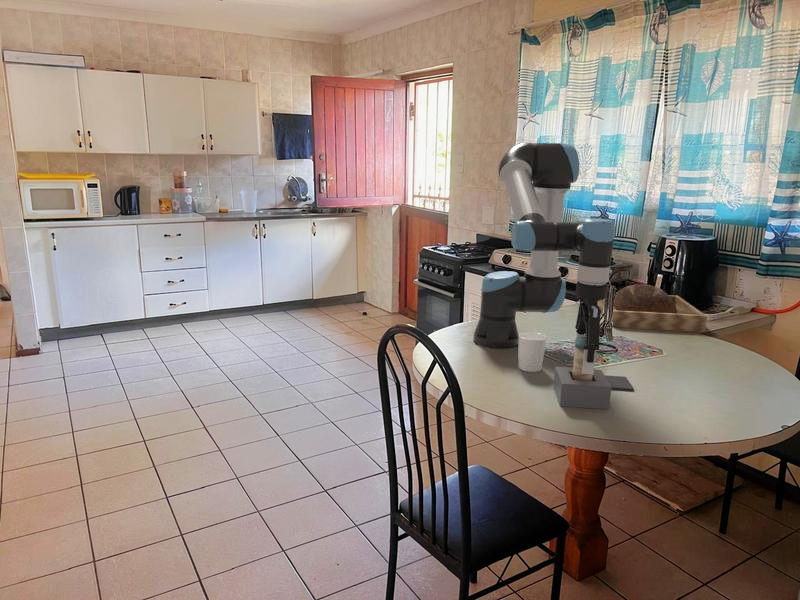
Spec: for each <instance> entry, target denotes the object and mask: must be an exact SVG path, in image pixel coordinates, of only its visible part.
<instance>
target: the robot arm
mask: <svg viewBox="0 0 800 600" xmlns="http://www.w3.org/2000/svg"><path fill="white" fill-rule="evenodd" d="M579 175H580V159H579V154H578V151H577V149H576V147H575V146H573V145H572V144H570V143H569V144H568V143H561V142H552V143H551V142H550V143H547V142H523V143H519V144H516V145H514V146H512V147H511V148H510V149H508V150H507V151H506V153H504V154H503V156H502V158H501V160H500V161H499V165H498V177H499V180H500V182H501V184H502V185H503V186H504V187H505V189H506V193H507V196H508V198H509V199H508V200H509V203H510V207H511V210H512V213H513V214H512V215H513V217H514V220H515V222H514V223H513V224H512V226H511V232H510V233H511V234H510V240H511V243H510V244H511V246H512V247H513V249H514V250H517V251H524V252H530V261H529V262H530V263H529V266H528V267H527V268H526V269H525V270H524V275H523V276H520V275H519V273H518V272H516V271H511V270H510V271H508V270H500V271H494V272H491V273H487V274H486V275H485V276H483V278H482V283H481V288H480V291H481V295H480V313H479V319H478V321H477V325H476V327H475V329H474V331H473V339H472V340H473V341H474V343H476V344H478V345H481V346H484V347H487V348H493V349H494V348H496V349H507V348H513V347H516V346H518V344H519V334H520V333H519V330H518V327H517V323H516V315H517V314H516V313H517V312H518V313H519V312H520V313H542V314H545V313H556V312H557V311H559V310H560V309H561V308H562V306H563V303H564V301H565V298H566V293H567V288H566V286H567V283H566V280H565V278H564V277H562V272H561V271H560V270H559V269H558V261H559V260H558V259H559V252H574V253H575V252H576V253H579V256H578V257H579V258H578V264H577V273H576V274H577V275H576V279H577V280H578V281H577V282H576V286H575V296H576V297H577V298H579V306H578V311H577V316H576V321H575V326H574V328H575V329H576V330H575V331H576V337H581V336H584V337H586V346H584V347H583V349H584V357H583V366H582V374H592V375H594V369H595V366H596V356H597V351H599V350H600V332H601V331H600V330H601V329H600V328H601V326H600V325H601V315H602V314H601V309H599V306H598V301H599V300H604V299H606V298H607V292H609V291H608V290H609V285H608V282H609V281H610V274H612V273H613V270H612V269H611V263H612V255H613V249H614V247H613V246H614V240H615V235H616V234H615V230H616V229H615V226H616V224H615V222H614V221H613V220H612V219H606V218H586V219H585V220H581V221H580V220H576V221H573V222H567V221H566V222H563V212H564V206H565V197H566V196H565V195H566V193H568V191H570V190H571V187H572V184H574V183H576V182H577V181H578V179H579ZM576 337H575V338H576ZM591 344H594V345H591Z"/></svg>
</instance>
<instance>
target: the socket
mask: <svg viewBox="0 0 800 600" xmlns="http://www.w3.org/2000/svg"><path fill="white" fill-rule="evenodd" d="M572 373H573V367H568V366H567V367H566V366H565V367H563V366H555V367H554V377H553V379H554V380H553V391H554V393H555V396H556V399H557V402H558V405H559V407H571V408H572V407H573V408H585V409H598V410H610V403H611V393H612V389H611V385H610V384H609V382H608V380H607V379H606V377H605V375H606V374H605V373H604V372H603V370H602V369H595V368H594V375H593V377H592V381H580V380H572Z"/></svg>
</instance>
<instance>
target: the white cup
mask: <svg viewBox="0 0 800 600" xmlns="http://www.w3.org/2000/svg"><path fill="white" fill-rule="evenodd" d="M518 334H519V344H518V345H517V346H518V347H517V348H518V351H517V352H518V353H517V355H518V358H517V359H518V360H517V361H518V363H517V364H518V365H517V367H518V368H519V370H521V371H524V372H528V373H538V372H540V371H542V368H543V362H544V361H543V360H544V359H545V358H544V356H545V351H546V345H547V344H546V342H547V336H546V335H544V334H543V333H539V332H534V331H524V332H523V331H522V332H520V333H518Z"/></svg>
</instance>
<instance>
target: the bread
mask: <svg viewBox="0 0 800 600" xmlns="http://www.w3.org/2000/svg"><path fill="white" fill-rule="evenodd" d="M669 295H670V294H668V292H665V291H664V290H663V289H662V288H659V287H657V286H653V285H651V284H644V283H643V284H642V283H641V284H640V283H639V284H632V285H628V286H625V287H622V288H620V289H619V290H618V291H617V292H616V294H615V302H614V308H615V309H616V310H619V311H637V312H655V313H674V314H677V310H676V307H675V304H674V302H673V301H672V299H671V298H670V297H669Z"/></svg>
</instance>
